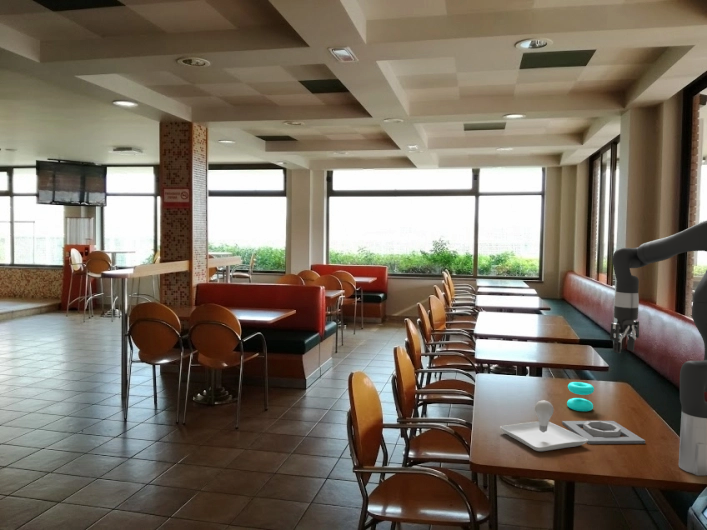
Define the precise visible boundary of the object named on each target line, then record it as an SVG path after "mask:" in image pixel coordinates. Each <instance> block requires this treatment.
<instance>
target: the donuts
mask: <svg viewBox="0 0 707 530" xmlns="http://www.w3.org/2000/svg"><path fill="white" fill-rule="evenodd" d="M567 389H568V390H569V392H571V393H573V394H575V395H581V396H588V395H591V394H593V393H594V391H595V387H594V386H593V384H591V383H587V382H582V381H570V382H569V383H568V385H567ZM566 405H567V407H568V408H569V409H570V410H572V411H577V412H590V411H592V410H593V409H594V403H592V401H590V400H589V399H586V398H582V397H573V398H569V399H568V400H567V402H566Z"/></svg>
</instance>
